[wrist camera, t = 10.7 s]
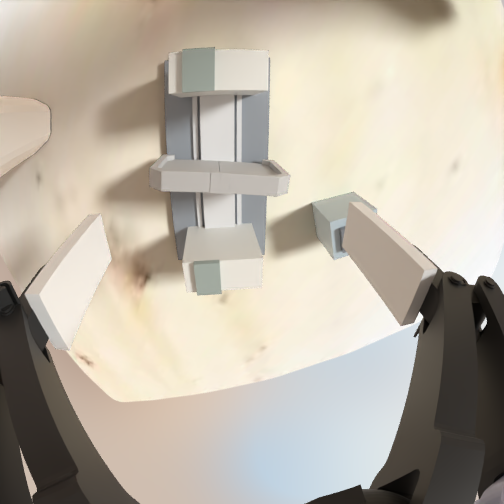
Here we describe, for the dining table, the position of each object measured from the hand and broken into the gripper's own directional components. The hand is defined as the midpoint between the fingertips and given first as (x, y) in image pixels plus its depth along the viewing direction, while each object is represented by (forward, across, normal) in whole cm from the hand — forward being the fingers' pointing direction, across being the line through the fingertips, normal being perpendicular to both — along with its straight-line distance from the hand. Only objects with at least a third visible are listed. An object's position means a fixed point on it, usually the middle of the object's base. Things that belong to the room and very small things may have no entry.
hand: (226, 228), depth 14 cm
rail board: (+18, 0, 0) cm, 18 cm away
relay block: (+18, +15, -7) cm, 25 cm away
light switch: (+17, 0, 0) cm, 17 cm away
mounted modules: (+18, 0, 0) cm, 18 cm away
